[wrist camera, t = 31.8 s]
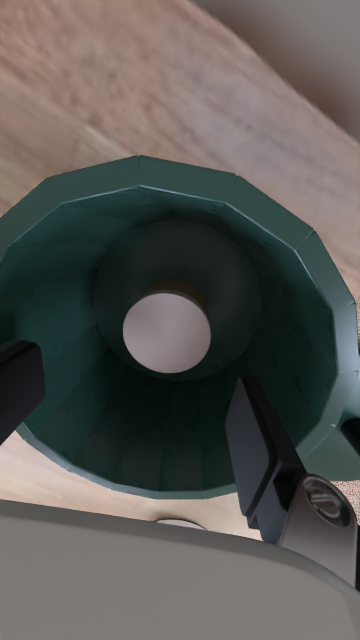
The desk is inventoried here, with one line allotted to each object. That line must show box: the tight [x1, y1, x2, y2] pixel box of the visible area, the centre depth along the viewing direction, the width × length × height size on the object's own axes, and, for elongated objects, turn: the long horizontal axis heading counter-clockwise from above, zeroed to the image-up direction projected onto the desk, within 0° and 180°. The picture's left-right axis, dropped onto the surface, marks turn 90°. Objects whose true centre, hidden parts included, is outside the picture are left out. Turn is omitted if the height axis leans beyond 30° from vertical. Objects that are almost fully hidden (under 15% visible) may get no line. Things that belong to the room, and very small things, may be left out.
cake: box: [123, 279, 211, 373], centre depth 16 cm, size 6×6×5 cm
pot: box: [0, 155, 359, 499], centre depth 14 cm, size 17×17×11 cm
